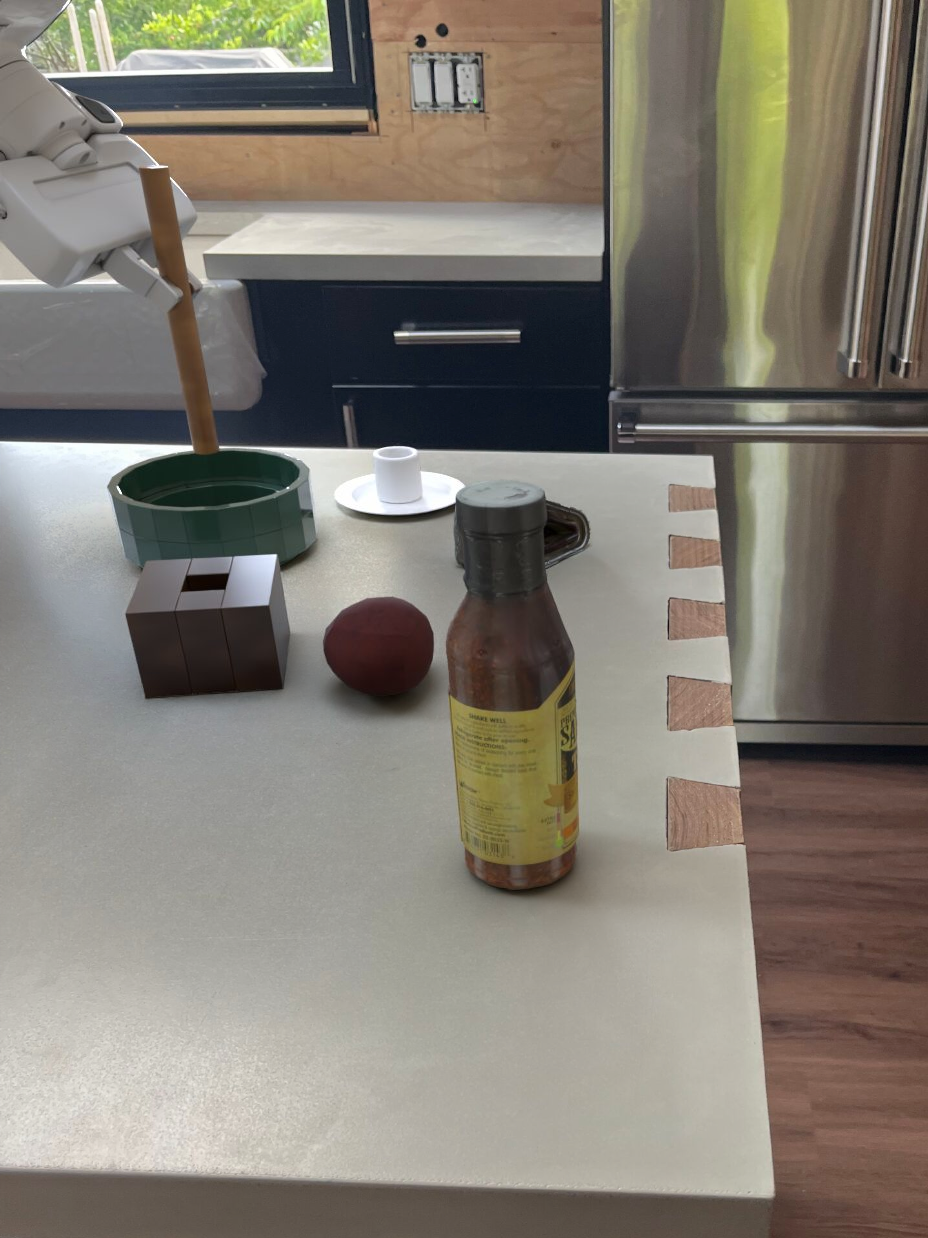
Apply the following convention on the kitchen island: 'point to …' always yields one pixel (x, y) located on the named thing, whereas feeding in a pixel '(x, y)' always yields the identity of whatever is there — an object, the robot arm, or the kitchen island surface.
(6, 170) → the robot arm
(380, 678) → the potato
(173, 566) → the stick holder
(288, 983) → the kitchen island surface
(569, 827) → the sauce bottle
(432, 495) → the candle holder
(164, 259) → the stirring stick
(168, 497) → the bowl
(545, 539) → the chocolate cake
